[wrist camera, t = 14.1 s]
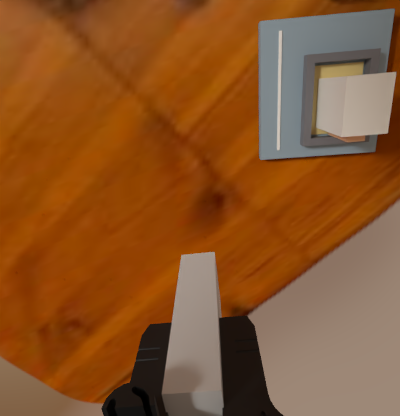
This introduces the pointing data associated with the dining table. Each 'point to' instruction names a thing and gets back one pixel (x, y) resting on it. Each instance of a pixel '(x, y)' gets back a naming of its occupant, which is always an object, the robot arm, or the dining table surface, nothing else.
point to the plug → (355, 105)
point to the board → (314, 77)
